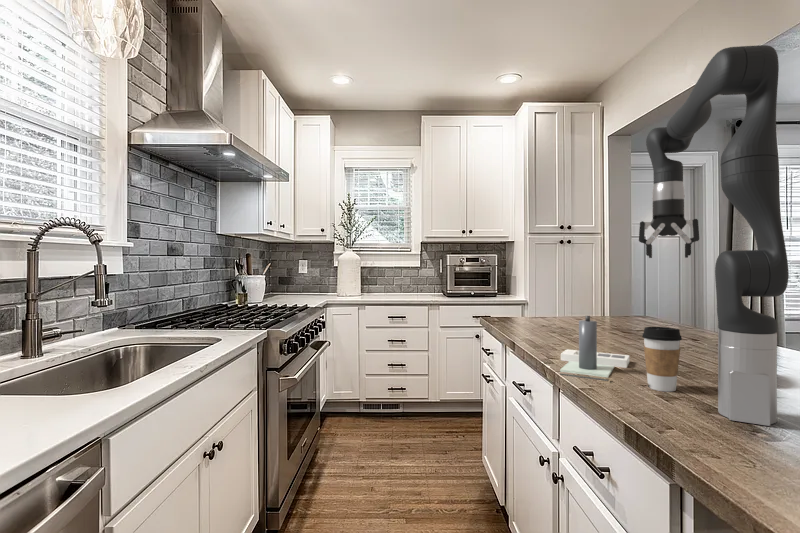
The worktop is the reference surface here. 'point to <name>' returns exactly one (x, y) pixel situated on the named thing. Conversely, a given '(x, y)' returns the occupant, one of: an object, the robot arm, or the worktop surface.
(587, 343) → the grey bottle
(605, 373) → the pad
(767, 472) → the worktop surface
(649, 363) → the coffee cup
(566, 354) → the power strip
